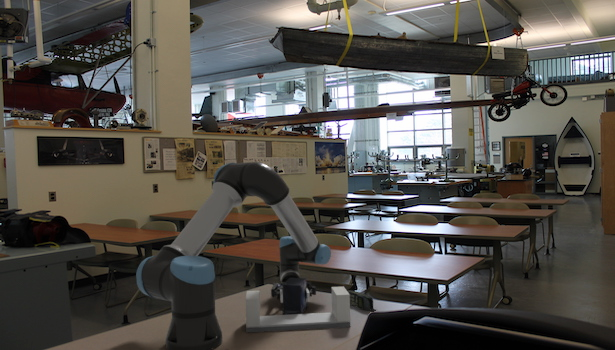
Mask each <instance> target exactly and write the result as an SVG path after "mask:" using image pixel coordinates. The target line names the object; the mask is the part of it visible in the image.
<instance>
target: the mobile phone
mask: <svg viewBox="0 0 615 350" xmlns="http://www.w3.org/2000/svg"><path fill="white" fill-rule="evenodd" d="M347 292H348V293H349V294H350V306H353V307H356V308H357V309H360V310H363V311H372V310H373V311H372V312H375V311H376V310H377V309H375V308H374V299H373V297H372V296H371V295H368V294H366V293H363V292H359V291H355V290H352V289H351V290H350V289H349V290H347Z"/></svg>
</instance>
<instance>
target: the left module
mask: <svg viewBox="0 0 615 350" xmlns="http://www.w3.org/2000/svg"><path fill="white" fill-rule="evenodd" d="M260 293H261V291H260V290H259V289H258V290H246V295H245V323H246V324H245V325H246V327H253V326H260V316H261V294H260Z"/></svg>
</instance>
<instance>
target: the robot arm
mask: <svg viewBox="0 0 615 350" xmlns="http://www.w3.org/2000/svg"><path fill="white" fill-rule="evenodd" d="M212 183H213V184H212V186H211V188H212V189H211V190H212V193H210V195H209V196H208V197H207V198H206V200H205V201H204V202H203V203H202V205H201V206H200V207H199V209H198V210H197V211H196V213H195V214H194V215H193V216H192V218H191V219H190V220H189V221H188V223H187V224H186V225H185V227H184V228H182V230H181V232H180V233H179V234H178V235H177V237H175V238H174V241H172V243H171V244H167V245H163V246H162V247H161V248H160V249H159V251H158V252H157V253H156V254H155V255H152V256H149V257H146V258H144V259H143V260H142V261H141V262H140V264H139V265H138V267H137V269H136V275H135V277H136V285H137V287H138V290H139V291H140V292H141V293H143V295H145V296H148V297H150V298H152V299H158V300H163V301H167V302H171V319H170V323H169V327H168V329H167V332H166V337H165V348H166V350H213V349H215V348H217V347H219V346H220V345H221V344H222V343H223V332H222V328H221V326H220V324H219V320H218V317H217V315H216V272H215V265H214V263H213V261H212V260H211V259H209V258H207V257H204V256H199V255H200V253H201V252H202V250H203V249H204V248H205V246H206V245H207V244H208V242H209V241H210V239H211V238H212V237H213V235H214V234H215V233H216V231H217V230H218V228H220V226H221V224H223V222H224V220H225V219H226V217H228V215H229V214H230V212H231V211H232V210H233V208H236V207H240V206H241V205H242V203H243V202H244V201H245V200H246V198H247V197H257V198H259V199H261V200H262V201H263V202H264V204H265V205H266V206H270V207H271V208H272V209H271V210H273V212H274V213H275V215H276V216H277V218H278V219H279V220H280V222H281V223H282V225H283V227H284V228H285V229H286V231H287V232H288V234H289V235H287V236H281V237H280V239H279V247H278V248H279V278H280V284H279V283H277V282H273V283H272V286H271V289H270V296H271V298H274V297H276V300H280V304H283V284H284V283H285V282H286V281H287V280H288V279H289V278H301V276H300V267H299V266H300V265H299V264H300V263H305V264H313V265H322V266H323V265H326V264H328V263H329V262H330V259H331V257H332V252H331V251H332V250H331V248H330V247H329V246H328V245H326V244H323V243H322V244H321V243H320V241H319V239H318V238H317V237H316V235H315V233H314V231H313V230H312V229H311V227H310V225H309V224H308V222H307V220H306V218H305V217H304V215H303V214H302V212H301V211H300V209H299V207H298V206H297V204H296V203H295V202H294V200H293V198H292V197H291V195H290V193H291V192H290V187H289V186H288V185H287V183H286V181H285V180H284V179H283V178H282V177H281V175H280V174H279V173H277V172H276V170H274V168H272V167H271V166H269V165H267V164H265V163H262V162H258V161H252V162H229V163H226V164H223V165H221V166H220V167H219V168H217V169H216V171H215V173H214V175H213V181H212ZM315 295H317V287H316V286H315V285H314V284H312V281H310V280H309V281H306V302H311V300H310V297H312V296H315Z"/></svg>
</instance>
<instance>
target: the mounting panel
mask: <svg viewBox="0 0 615 350" xmlns="http://www.w3.org/2000/svg"><path fill="white" fill-rule="evenodd" d="M350 327H351V320H350V321H344V322H337V321H336V319H335V317H334V315H333V313H332V311H330V312H315V313H314V312H313V313H312V312H310V313H303V314H292V315H283V314H276V315H275V314H274V315H260V326H253V327H246V330H245V331H246V333H248V332H249V333H260V332H261V333H265V332H264V331H267V332H278V331H280V332H283V331H285V332H286V331H299V330H302V329H303V330H318V329H319V330H320V329H334V328H338V329H339V328H350Z"/></svg>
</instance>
